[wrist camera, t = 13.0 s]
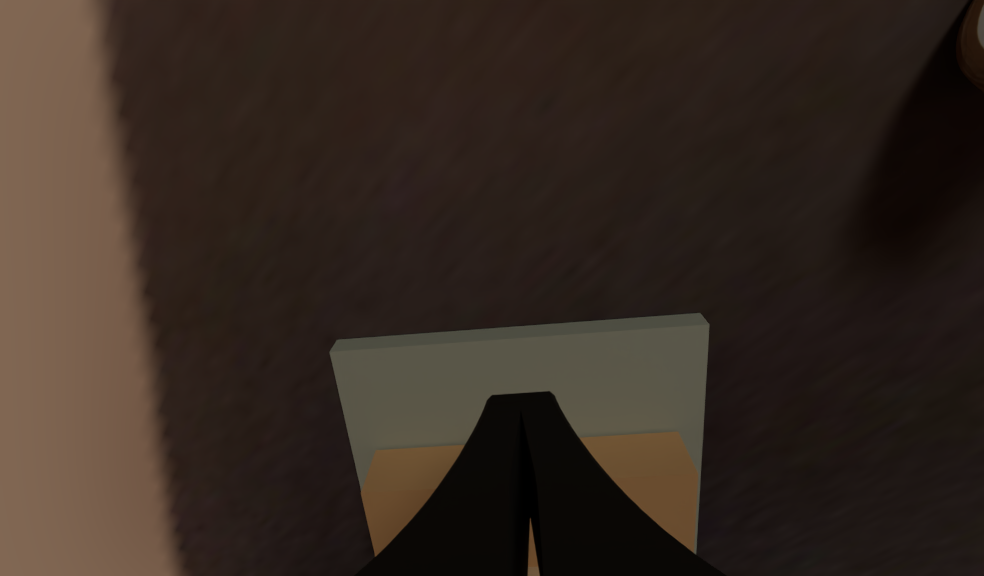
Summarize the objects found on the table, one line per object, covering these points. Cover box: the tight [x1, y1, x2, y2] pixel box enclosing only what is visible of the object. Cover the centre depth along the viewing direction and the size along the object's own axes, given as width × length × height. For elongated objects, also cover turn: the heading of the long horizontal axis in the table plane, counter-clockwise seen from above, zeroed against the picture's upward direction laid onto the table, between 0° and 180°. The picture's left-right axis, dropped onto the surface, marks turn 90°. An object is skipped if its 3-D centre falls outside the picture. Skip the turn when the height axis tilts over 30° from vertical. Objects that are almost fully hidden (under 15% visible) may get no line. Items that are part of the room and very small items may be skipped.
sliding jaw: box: [361, 432, 698, 567], centre depth 21 cm, size 4×12×2 cm, turn 95°
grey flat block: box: [330, 313, 709, 554], centre depth 22 cm, size 16×14×4 cm
